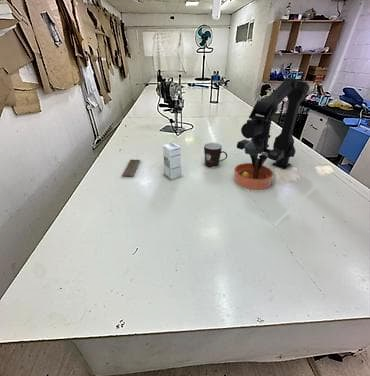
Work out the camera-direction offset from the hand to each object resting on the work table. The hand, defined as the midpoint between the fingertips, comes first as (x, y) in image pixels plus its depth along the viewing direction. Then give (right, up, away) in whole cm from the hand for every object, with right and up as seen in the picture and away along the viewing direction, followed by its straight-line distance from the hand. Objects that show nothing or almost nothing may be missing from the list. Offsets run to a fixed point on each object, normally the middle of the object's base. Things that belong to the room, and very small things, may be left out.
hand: (256, 167), depth 100 cm
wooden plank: (-56, -1, +11) cm, 57 cm away
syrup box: (-36, -4, +6) cm, 37 cm away
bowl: (-2, -6, +1) cm, 6 cm away
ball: (-4, -3, +2) cm, 6 cm away
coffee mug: (-17, 0, +15) cm, 22 cm away
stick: (0, -4, +2) cm, 5 cm away
